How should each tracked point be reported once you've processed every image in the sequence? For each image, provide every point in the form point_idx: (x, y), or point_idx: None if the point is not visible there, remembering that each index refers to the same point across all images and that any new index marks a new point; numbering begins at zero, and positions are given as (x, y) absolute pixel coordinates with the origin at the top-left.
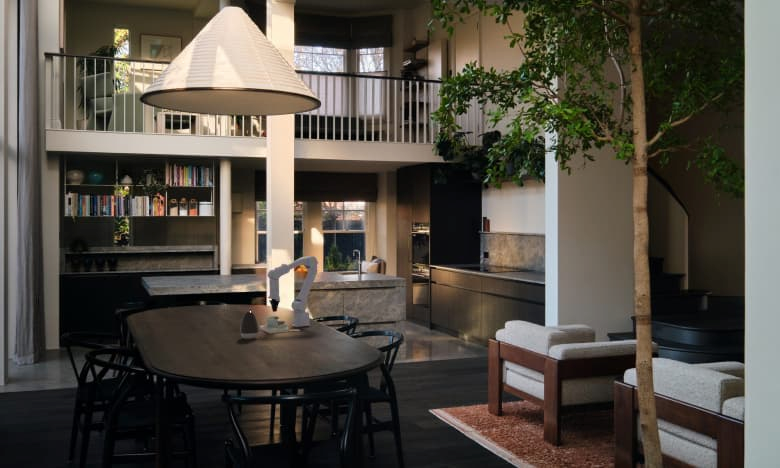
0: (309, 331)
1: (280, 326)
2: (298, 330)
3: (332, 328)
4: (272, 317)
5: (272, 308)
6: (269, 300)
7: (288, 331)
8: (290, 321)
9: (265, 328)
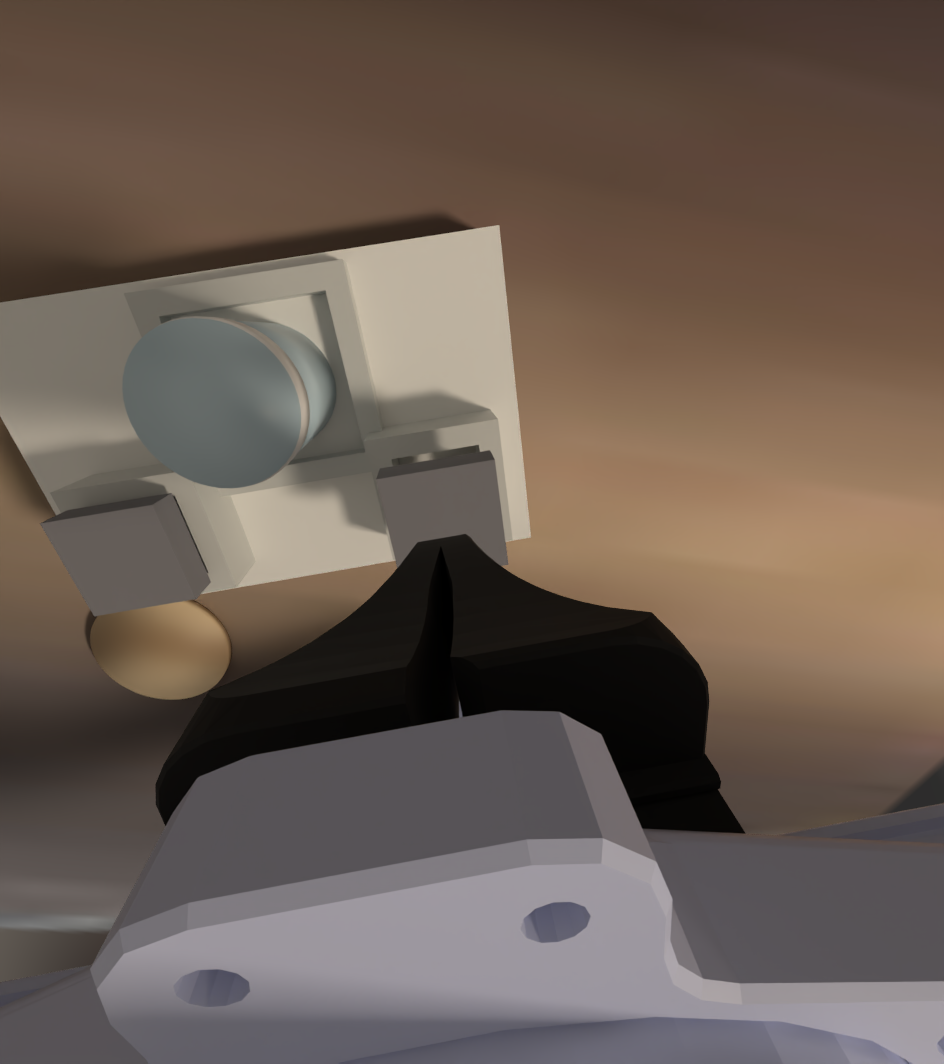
0: (113, 759)
1: None
2: (132, 682)
3: None
4: (404, 473)
5: (432, 560)
6: (574, 649)
7: None
8: (858, 680)
9: (168, 277)
